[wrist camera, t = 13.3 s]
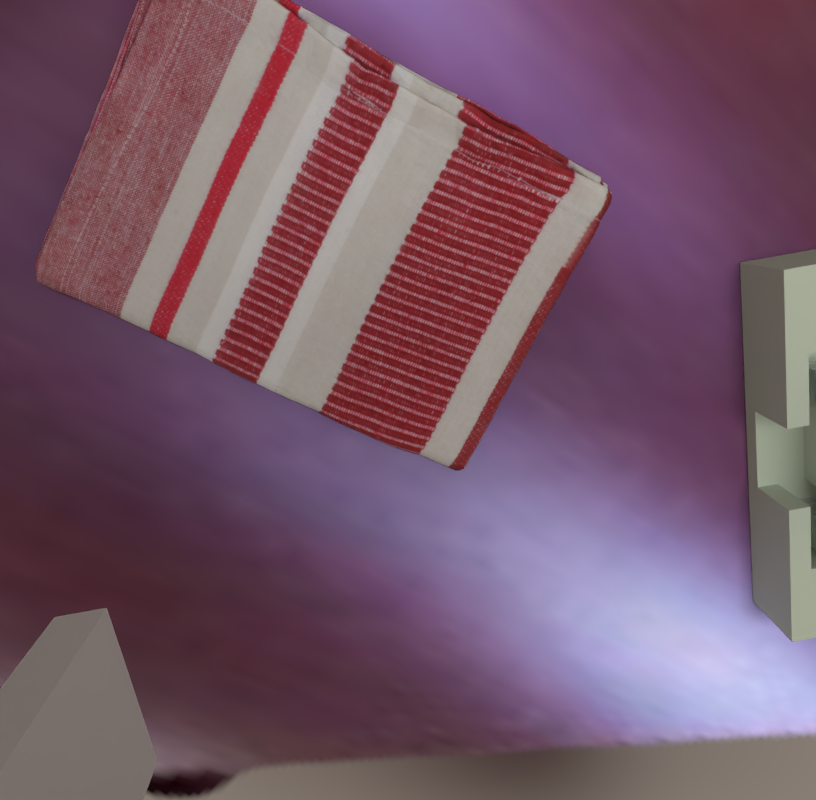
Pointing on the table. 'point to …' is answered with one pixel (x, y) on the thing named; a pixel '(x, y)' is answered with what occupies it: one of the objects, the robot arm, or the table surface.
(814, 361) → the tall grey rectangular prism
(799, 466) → the rail
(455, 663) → the table surface
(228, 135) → the dish towel
